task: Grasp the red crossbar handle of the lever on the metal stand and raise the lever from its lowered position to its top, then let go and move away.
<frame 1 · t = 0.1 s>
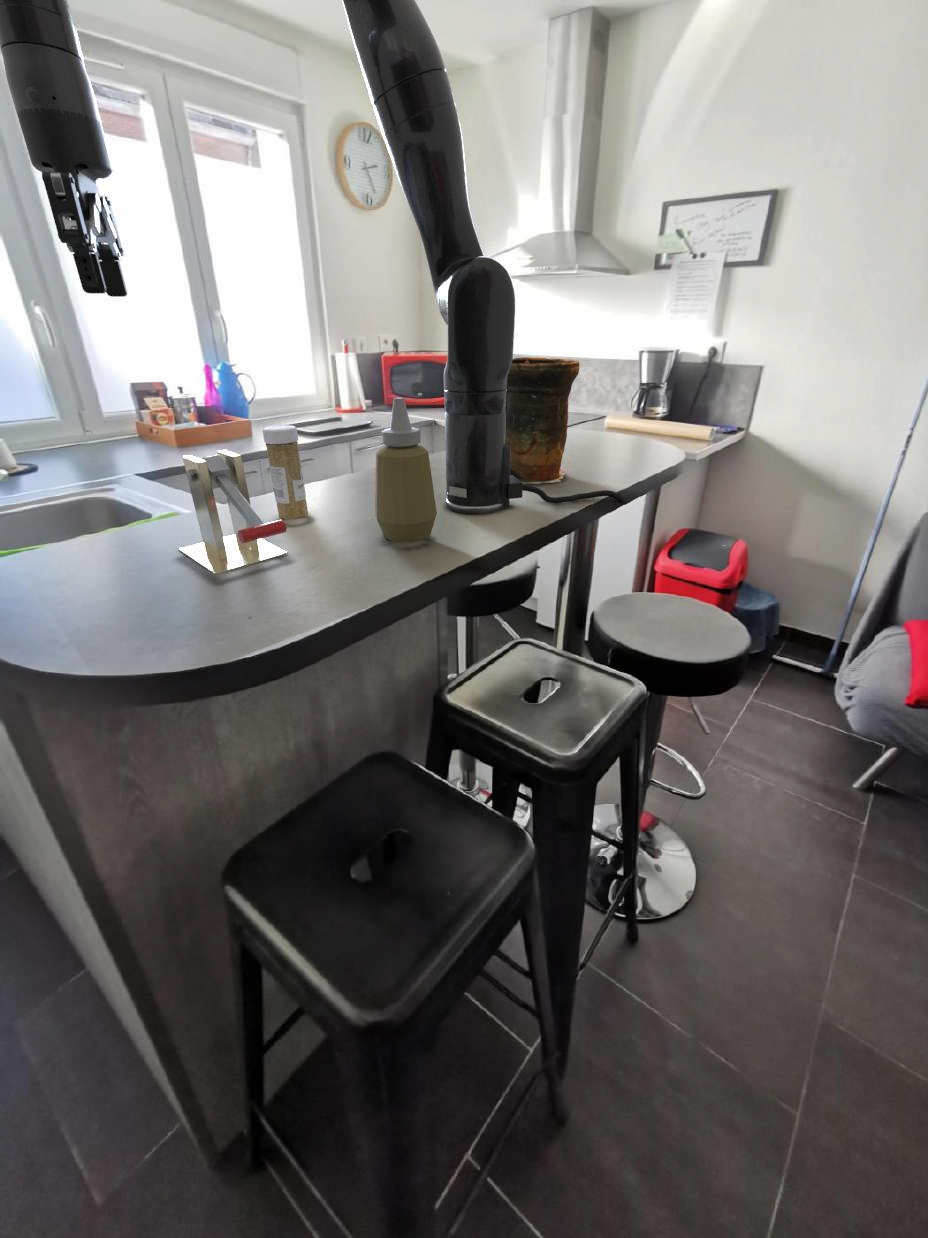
hand: (107, 294, 66), 29 cm above the countertop, tool pointing down, fingers open, 8 cm apart
metal stand: (234, 560, 70), on the countertop
lever: (236, 498, 63), point 9 cm above the countertop, hinge at -26.0°
sprinkles bottle: (294, 522, 84), on the countertop
squeeze bottle: (407, 542, 76), on the countertop
vessel: (532, 477, 106), on the countertop
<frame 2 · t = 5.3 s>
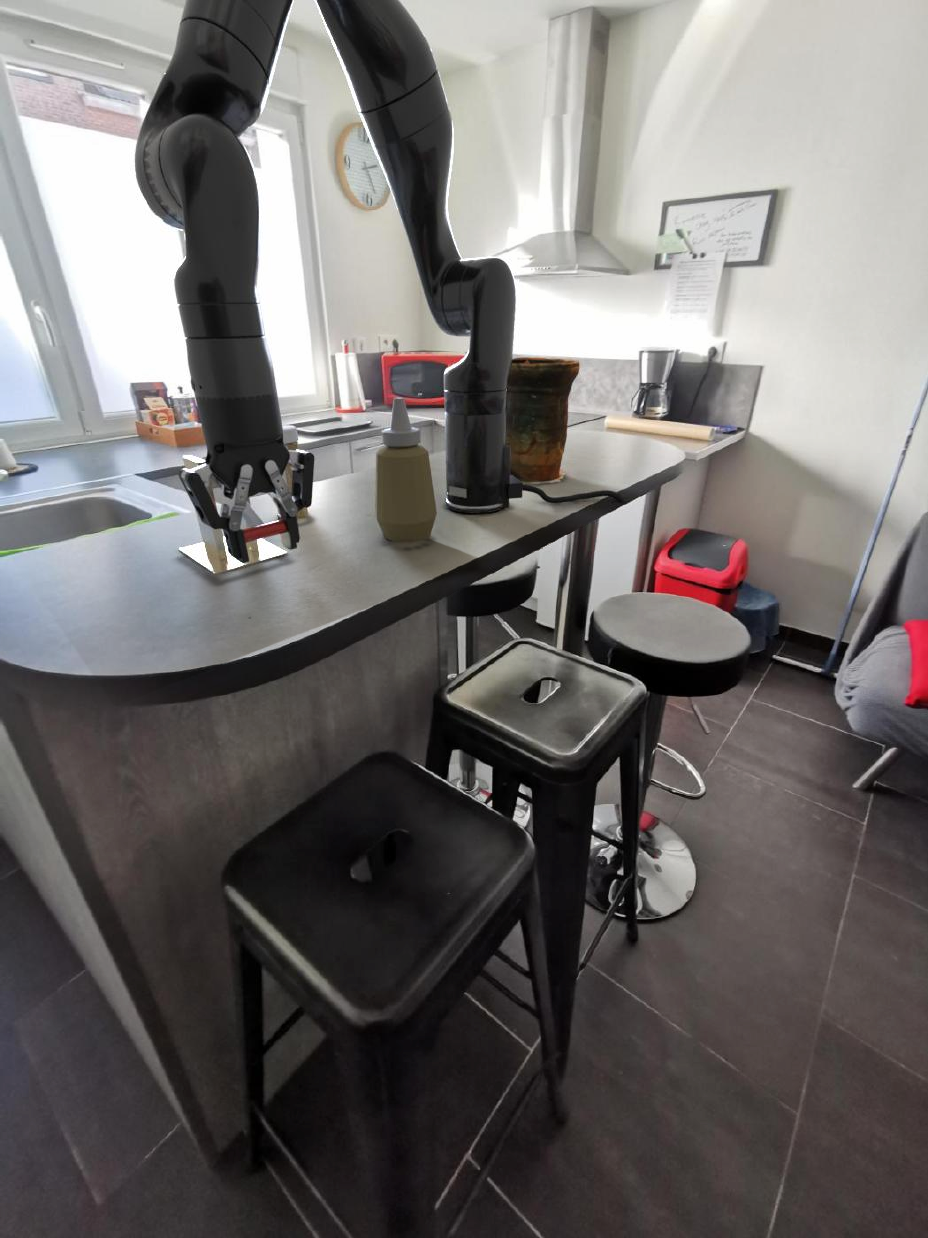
hand: (266, 553, 62), 4 cm above the countertop, tool pointing down, fingers closed on lever, 5 cm apart
lever: (236, 498, 63), point 9 cm above the countertop, hinge at -26.1°, touching gripper
everything else where it was.
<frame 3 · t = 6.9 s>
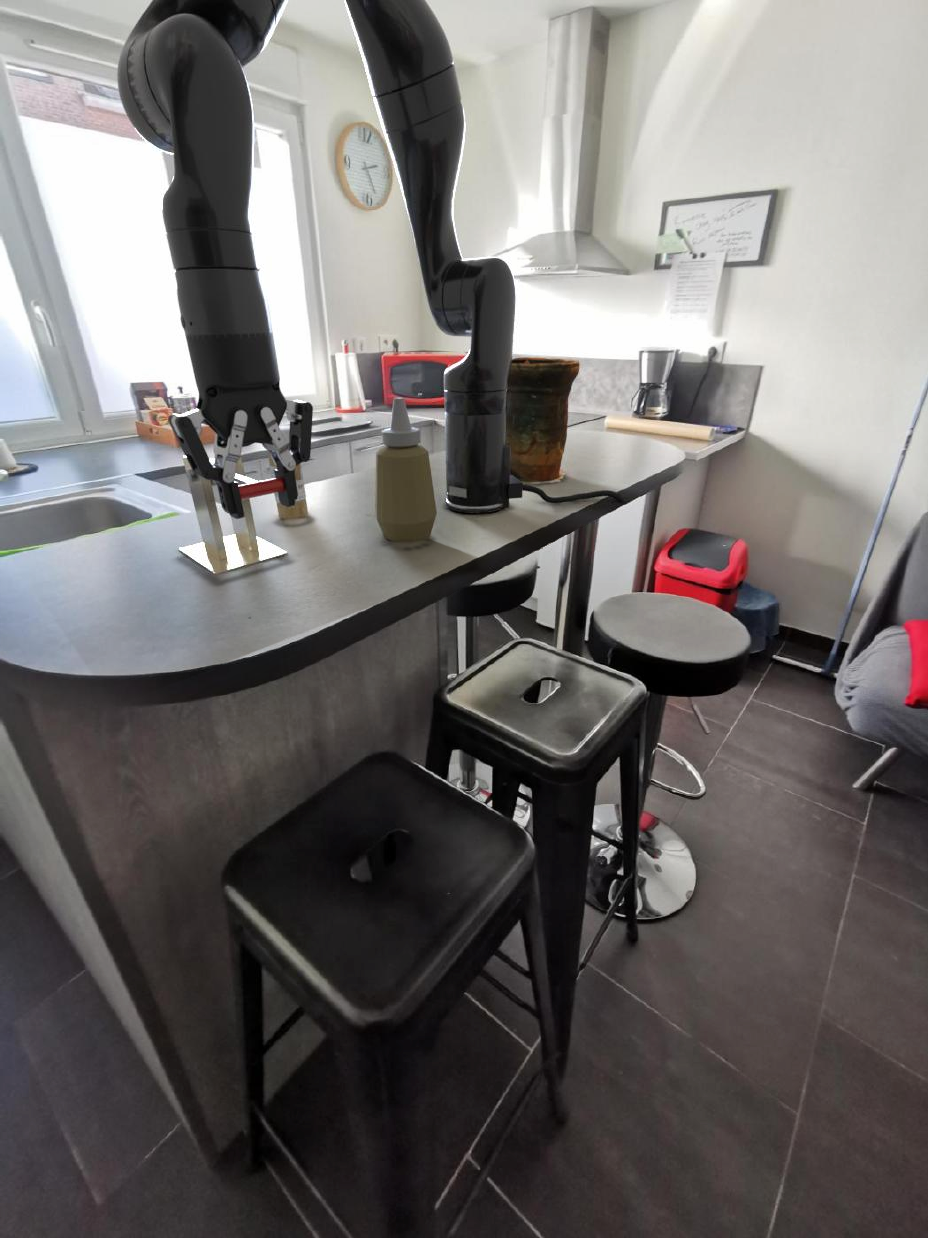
hand: (263, 510, 59), 9 cm above the countertop, tool pointing down, fingers closed on lever, 5 cm apart
lever: (234, 479, 62), point 11 cm above the countertop, hinge at 0.3°, touching gripper
everything else where it was.
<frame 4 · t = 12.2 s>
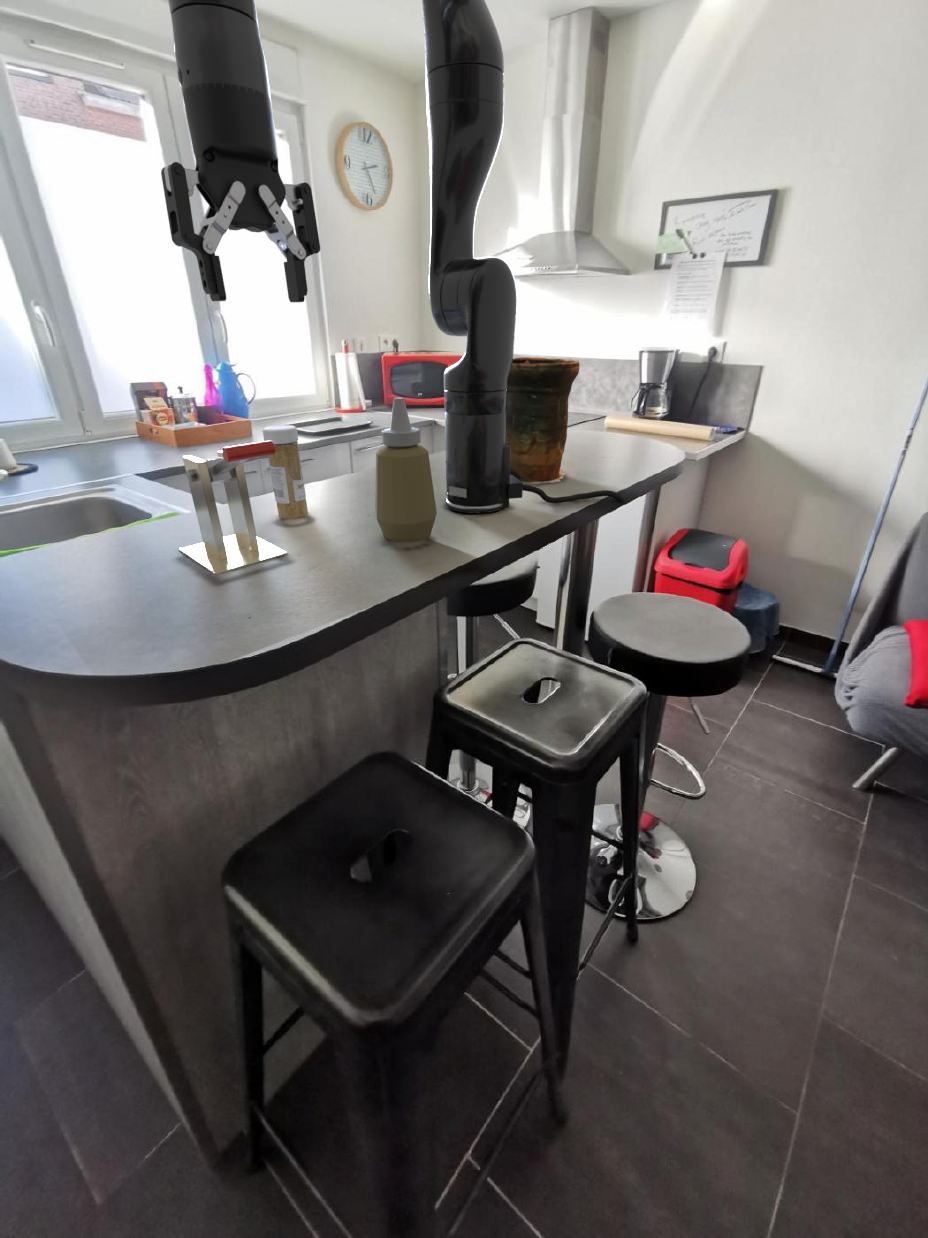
hand: (260, 301, 58), 28 cm above the countertop, tool pointing down, fingers open, 8 cm apart
lever: (230, 462, 61), point 13 cm above the countertop, hinge at 20.0°
everything else where it was.
at the end: lever at +20° (first picture: -26°) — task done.
